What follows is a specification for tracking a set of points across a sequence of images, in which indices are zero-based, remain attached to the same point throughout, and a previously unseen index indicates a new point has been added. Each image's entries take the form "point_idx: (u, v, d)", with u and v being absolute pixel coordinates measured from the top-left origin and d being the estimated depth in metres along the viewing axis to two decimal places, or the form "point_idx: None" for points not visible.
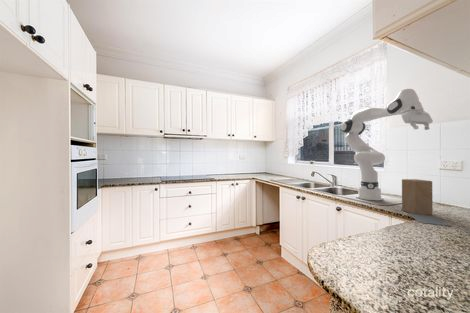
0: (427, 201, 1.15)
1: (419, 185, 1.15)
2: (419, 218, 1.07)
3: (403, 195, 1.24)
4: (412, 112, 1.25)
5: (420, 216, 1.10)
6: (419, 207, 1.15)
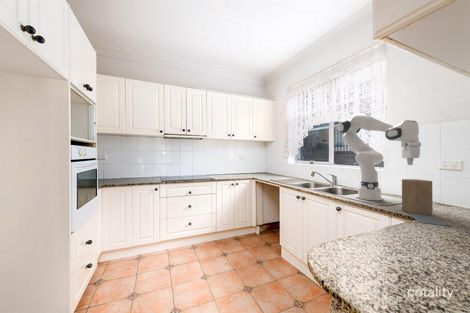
0: (427, 201, 1.15)
1: (419, 185, 1.15)
2: (419, 218, 1.07)
3: (403, 195, 1.24)
4: None
5: (420, 216, 1.10)
6: (419, 207, 1.15)
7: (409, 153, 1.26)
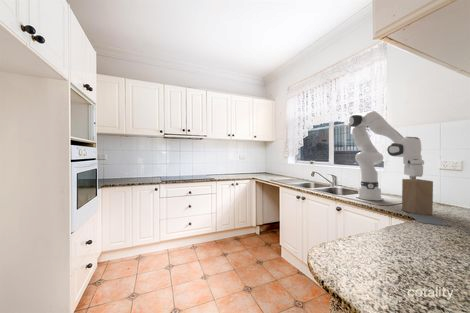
0: (427, 201, 1.15)
1: (420, 185, 1.15)
2: (419, 218, 1.07)
3: (403, 195, 1.23)
4: None
5: (420, 216, 1.10)
6: (419, 207, 1.15)
7: (412, 171, 1.22)
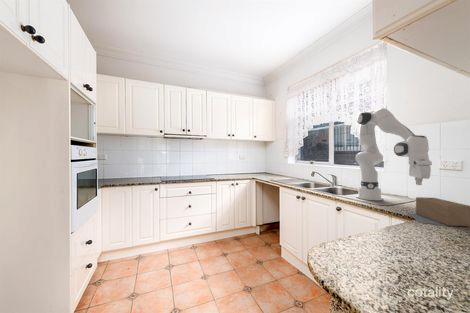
0: None
1: None
2: (419, 218, 1.07)
3: (429, 203, 1.05)
4: None
5: (420, 216, 1.10)
6: None
7: (418, 172, 1.13)
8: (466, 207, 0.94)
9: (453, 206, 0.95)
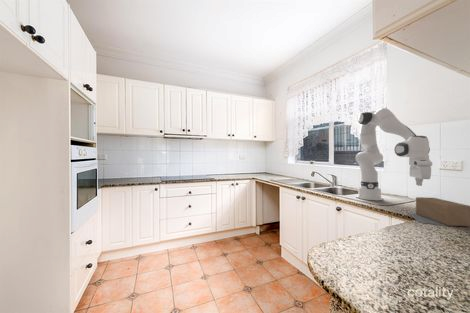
0: None
1: None
2: (419, 218, 1.07)
3: (429, 203, 1.05)
4: None
5: (420, 216, 1.10)
6: None
7: (418, 173, 1.12)
8: (466, 207, 0.94)
9: (453, 206, 0.95)
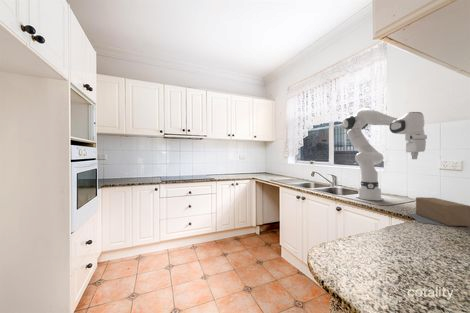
0: None
1: None
2: (419, 218, 1.07)
3: (429, 203, 1.05)
4: None
5: (420, 216, 1.10)
6: None
7: (414, 146, 1.19)
8: (466, 207, 0.94)
9: (453, 206, 0.95)
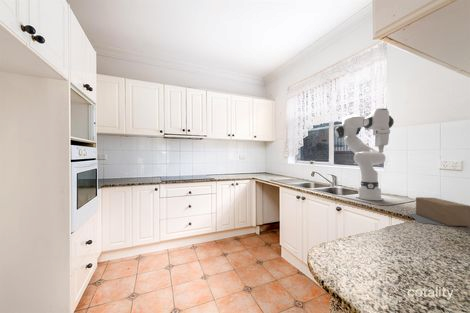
0: None
1: None
2: (419, 218, 1.07)
3: (429, 203, 1.05)
4: None
5: (420, 216, 1.10)
6: None
7: (379, 140, 1.27)
8: (466, 207, 0.94)
9: (453, 206, 0.95)
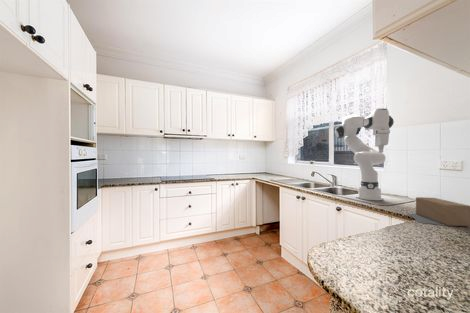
0: None
1: None
2: (419, 218, 1.07)
3: (429, 203, 1.05)
4: None
5: (420, 216, 1.10)
6: None
7: (379, 140, 1.27)
8: (466, 207, 0.94)
9: (453, 206, 0.95)
